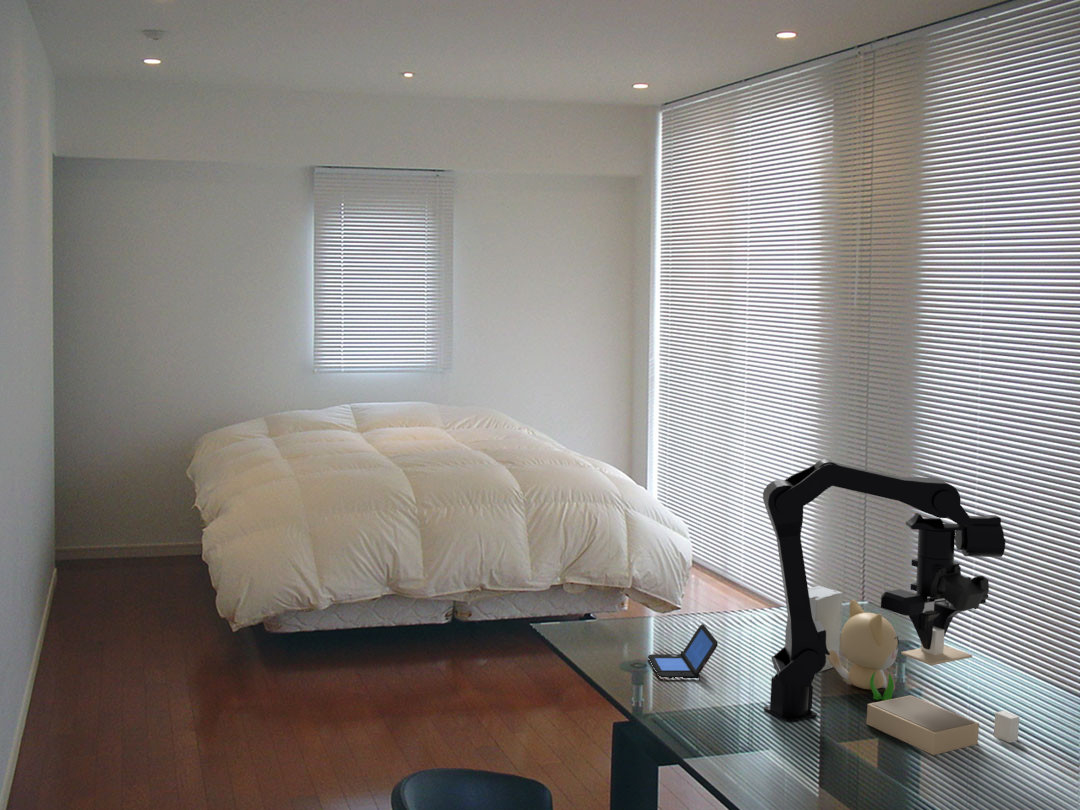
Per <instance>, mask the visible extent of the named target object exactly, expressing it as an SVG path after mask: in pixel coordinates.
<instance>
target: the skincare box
mask: <svg viewBox="0 0 1080 810" xmlns="http://www.w3.org/2000/svg"><path fill="white" fill-rule="evenodd" d="M808 592H809V599H810V606H811V613H812V618H813V621H814V622H817V621H820V623H821V625H822V626H823V628H824V629H825V631H826V647H827V650H828V652H829V651H830V650H833V651H835V652H836V653H837V655H838V657H839V658H840V636H841V629H842V628H841V625H842V609H843V607H842V606H843V592H842V591H838V590H835V589H833V588H832V589H831V588H829V587H828V588H827V587H825V586H822V585H816V586H813V587H810V588H809V587H808ZM825 655H826V664H825V666H824V667H823V668H822V670H821V671H820V672H819V673H821V672H823V671H827V670H829V669H832V668H834V667H833V666H832V665H831V664H830V662H829V660H828V656H827V654H825Z"/></svg>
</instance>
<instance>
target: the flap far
mask: <svg viewBox="0 0 1080 810" xmlns="http://www.w3.org/2000/svg"><path fill="white" fill-rule="evenodd" d="M900 652H901V655H903V656H905V657H907V658H910V659H913V660H916V661H918V662H921V663H923V664H925V665H929V666H936V665H940V664H944V663H945V664H946V663H950V662H955V661H960V660H965V659H970V658H973V654H971V653H968V652H965V651H962V650H959V649H957V648H955V647H950V646H948V645H945V637H944V630H943V629H940V628H937V627H934V626H933V632H932V641H931V646H930V649H928V650H927V649H925V648H923V645H922V643H921V642H920V647H919V648H915V649H909V650H903V651H900Z"/></svg>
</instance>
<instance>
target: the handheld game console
mask: <svg viewBox="0 0 1080 810" xmlns="http://www.w3.org/2000/svg"><path fill="white" fill-rule="evenodd" d="M717 648H718V641H717V640H716V638H715V637H714V635H712V633H711V632H710V631H709V629H708V628H707V627H706V625H705V624H703V623H702V624H700V625H699V626H698V628H697V629H696V631H695V632H694V634H693V636H692V637H691V638H690V640H689V642H687V645H686V646H685V648H684V650H681V651H680V653H679V654H677V653H675V654H674V653H672V654H669V653H665V654H663V653H661V654H659V653H658V654H657V653H655V654H653V653H652V654H649V655H647V656H648V657H647V659H648V658H649V659H650V661H651V663H652V665H653V667H654V668H655V670H656V671H657V673H658V675H659V676H661V677H669V678H672V677H674V678H675V677H683V678H699V679H700V674H701V672H702V670H703V669H704V668H705V666H706V665H707V664H708V661H709V660H710V659H711V657H712V655H713V654H714V652H715V650H716V649H717ZM653 667H652V668H653Z"/></svg>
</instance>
